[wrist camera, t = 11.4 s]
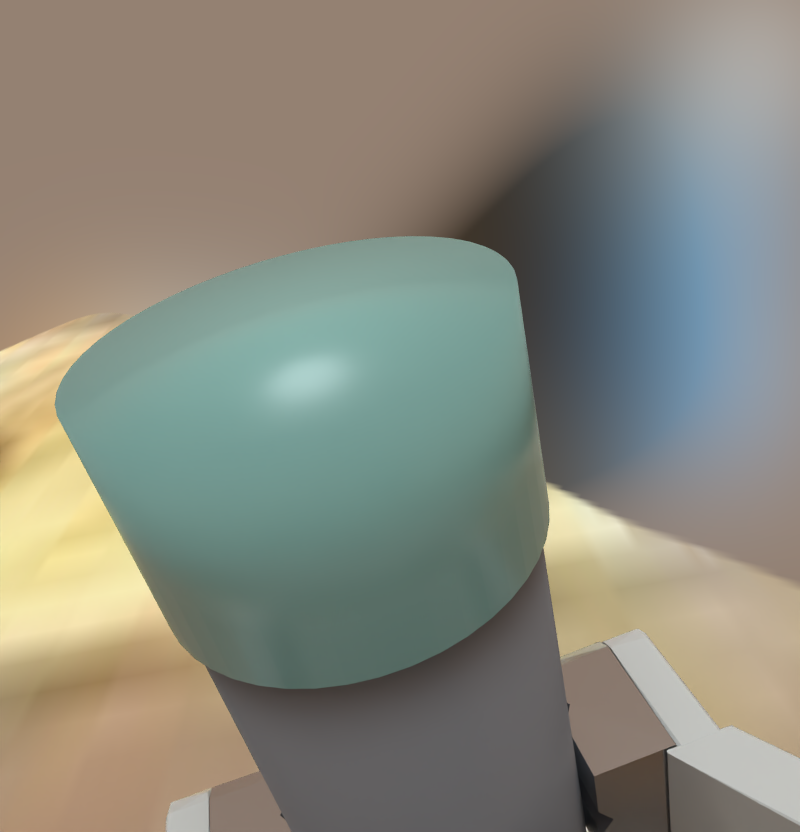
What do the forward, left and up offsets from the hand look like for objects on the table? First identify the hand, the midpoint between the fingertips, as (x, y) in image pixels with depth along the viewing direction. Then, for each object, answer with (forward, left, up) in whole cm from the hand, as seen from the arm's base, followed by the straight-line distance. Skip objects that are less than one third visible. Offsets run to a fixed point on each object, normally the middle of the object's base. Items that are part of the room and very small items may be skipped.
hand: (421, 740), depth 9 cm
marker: (+1, 0, -8) cm, 8 cm away
